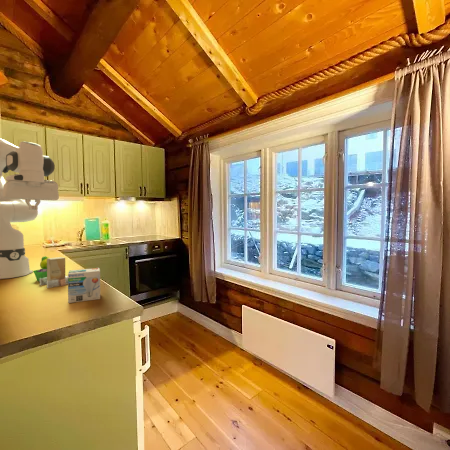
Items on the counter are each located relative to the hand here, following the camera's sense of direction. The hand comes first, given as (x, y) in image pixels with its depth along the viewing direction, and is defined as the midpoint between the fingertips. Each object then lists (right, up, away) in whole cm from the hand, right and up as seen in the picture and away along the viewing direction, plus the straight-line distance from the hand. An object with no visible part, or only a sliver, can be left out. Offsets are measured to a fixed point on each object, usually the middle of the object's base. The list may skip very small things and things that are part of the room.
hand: (33, 209), depth 115 cm
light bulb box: (+33, -35, -18) cm, 51 cm away
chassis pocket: (+9, -34, +4) cm, 35 cm away
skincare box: (+9, -34, +2) cm, 35 cm away
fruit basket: (-1, -34, +12) cm, 36 cm away
